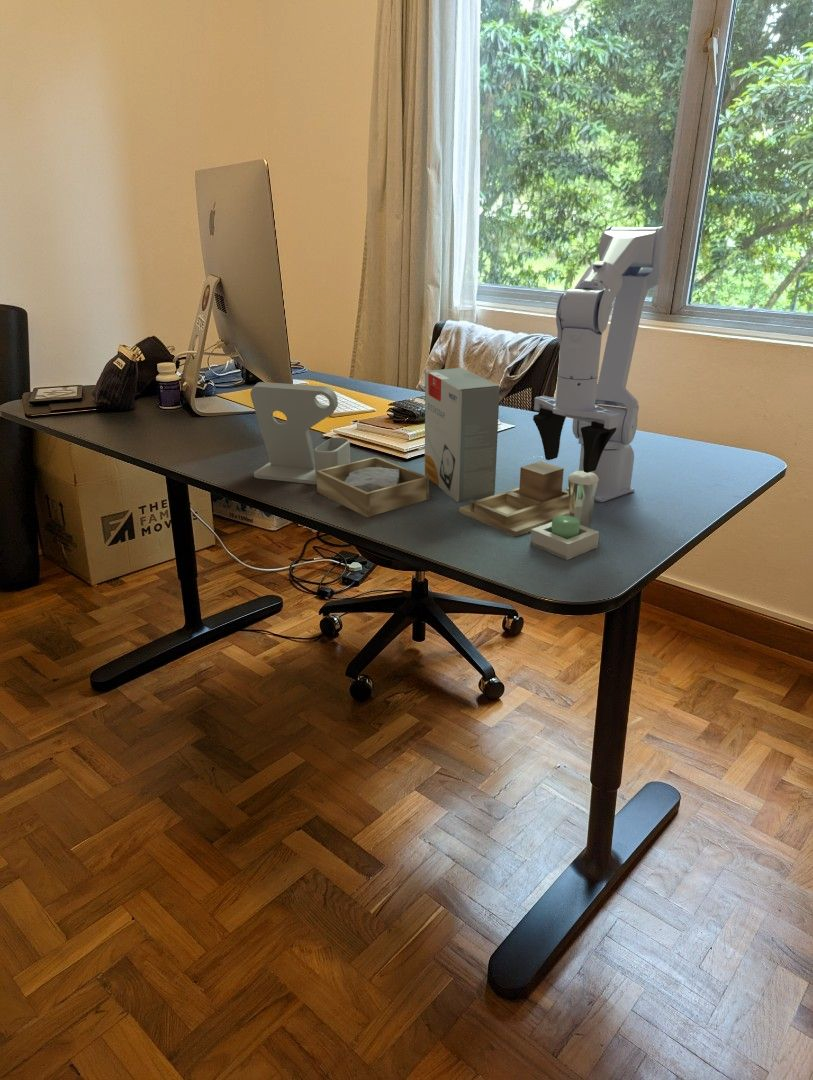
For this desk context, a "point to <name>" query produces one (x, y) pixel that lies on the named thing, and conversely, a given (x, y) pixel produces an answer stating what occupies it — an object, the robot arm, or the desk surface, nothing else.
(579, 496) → the milkshake
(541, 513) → the pallet
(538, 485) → the walnut block
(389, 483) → the stone block
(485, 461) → the hard drive box
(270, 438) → the phone holder
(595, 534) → the cream square tray
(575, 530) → the button
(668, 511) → the desk surface
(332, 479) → the wooden tray
